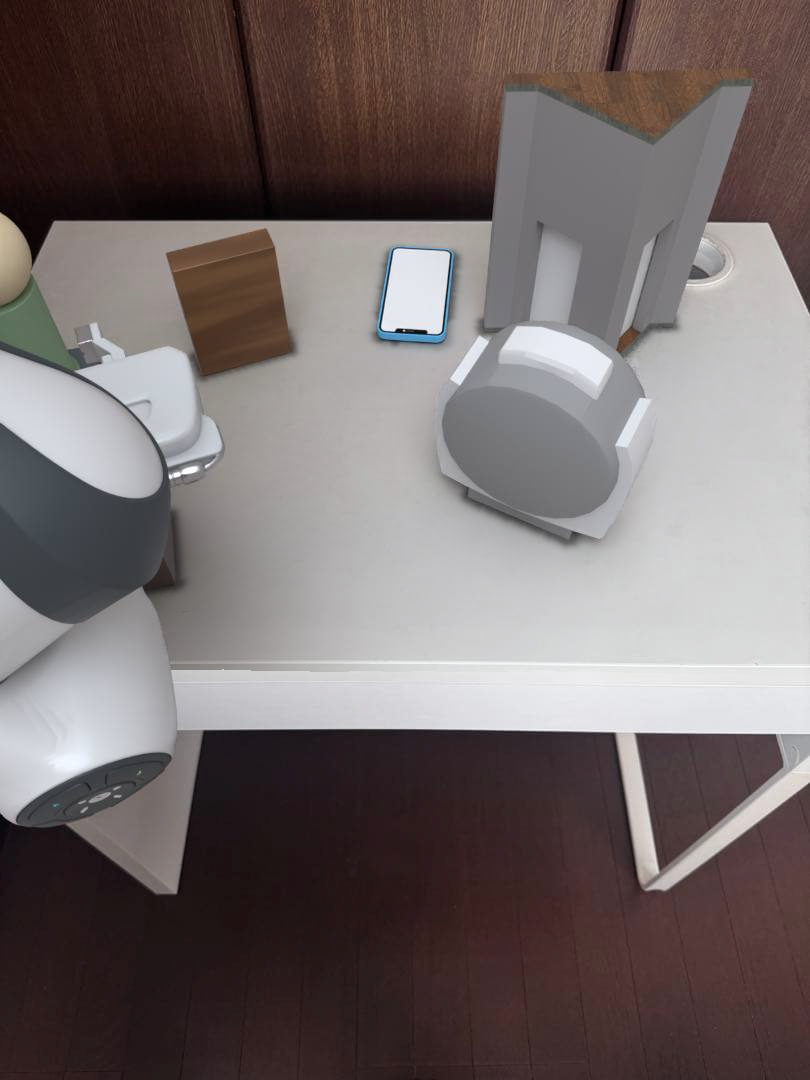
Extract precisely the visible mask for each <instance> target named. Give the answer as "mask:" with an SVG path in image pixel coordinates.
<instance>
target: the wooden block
mask: <svg viewBox="0 0 810 1080" xmlns="http://www.w3.org/2000/svg"><path fill="white" fill-rule="evenodd" d="M165 255H166V259H167V263H168V266H169V270H170V274H171V276H172V281H173V284H174V287H175V290H176V294H177V297H178V300H179V304H180V307H181V311H182V314H183V318H184V321H185V324H186V327H187V328H186V329H187V330H188V331H187V332H188V335H189V338H190V342H191V345H192V349H193V352H194V355H195V358H196V361H197V364H198V368H199V370H200V373H201V376H202V377H205V376H209V375H212V374H216V373H220V372H223V371H227V370H232V369H235V368H238V367H241V366H245V365H250V364H253V363H256V362H260V361H263V360H267V359H270V358H274V357H278V356H281V355H285V354H288V353H292V351H293V349H292V343H291V337H290V331H289V325H288V319H287V318H288V317H287V313H286V306H285V299H284V293H283V288H282V282H281V281H282V280H281V274H280V270H279V264H278V257H277V251H276V246H275V243H274V241H273V239H272V237H271V234H270V233H269V231H268V229H267V227H264V228H260V229H256V230H252V231H248V232H245V233H240V234H236V235H233V236H229V237H228V236H227V237H224V238H220V239H215V240H213V241H208V242H204V243H200V244H196V245H192V246H187V247H184V248H179V249H175V250H172V251H167V252H166V253H165Z"/></svg>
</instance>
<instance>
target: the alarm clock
mask: <svg viewBox="0 0 810 1080" xmlns="http://www.w3.org/2000/svg"><path fill="white" fill-rule="evenodd" d="M434 425H435V426H434V429H435V440H436V449H437V450H436V451H437V455H438V460H439V466H440V470H441V474H443V475H445V476H447V477H449V478H451V479H452V480H453V481H456V482H458V483H459V484H461V485H463V486H464V487H467V488H468V495H467V497H468V499H471V500H473V501H476V502H478V503H481V504H484V505H485V506H487V507H490V508H493V509H494V510H497V511H500V512H501V513H504V514H507V515H509V516H511V517H513V518H516V519H519V520H521V521H523V522H526V523H528V524H531V525H532V526H535V527H537V528H540V529H542V530H544V531H546V532H550V533H551V534H554V535H556V536H559V537H560V538H563V539H566V540H570V539H571V537H572V535H573V533H574V532H576V533H579V534H582V535H585V536H589V537H591V538H595V539H599V540H602V538H603V537H604V536H605V535H606V534H607V532H608V531H609V529H610V528H611V526H612V525H613V524H614V523H615V521H616V519H617V518H618V516H619V513H620V512H621V510H622V508H623V506H624V504H625V502H626V500H627V498H628V496H629V494H630V492H631V491H632V488H633V486H634V484H635V482H636V479H637V478H638V476H639V474H640V472H641V470H642V467H643V466H644V464H645V462H646V460H647V457H648V455H649V452H650V450H651V447H652V446H653V443H654V439H655V434H656V426H657V416H656V411H655V407H654V402H653V398H646V393H645V389H644V387H643V385H642V383H641V382H640V380H639V378H638V376H637V374H636V372H635V370H634V368H633V367H632V366H631V365H630V364H629V363H628V361H627V360H626V359H625V358H624V357H623V356H622V355H620V354H619V353H618V352H617V351H616V350H615V349H613V348H612V347H611V346H609V345H608V344H607V343H605V342H604V341H603V340H601V339H600V338H598V337H597V336H595V335H593V334H590V333H588V332H586V331H584V330H582V329H580V328H578V327H575V326H571V325H567V324H563V323H559V322H555V321H525V322H521V323H517V324H513V325H509V326H507V327H506V328H504V329H502V330H501V331H499V332H495V333H494V334H493V335H492V337H490V339H489V340H487V339H486V338H484V337H482V336H481V335H478V336H477V338H476V339H475V341H473V343H472V344H471V346H470V347H469V348H468V349H467V351H466V353H465V354H464V355H463V357H462V358H461V359H460V361H459V362H458V364H457V365H456V367H455V368H454V370H453V372H452V373H451V375H450V376H449V377H448V379H447V380H446V381H445V383H444V385H443V386H442V387H441V389H440V390H439V391H438V396H437V400H436V403H435V409H434Z"/></svg>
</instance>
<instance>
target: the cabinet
mask: <svg viewBox="0 0 810 1080" xmlns="http://www.w3.org/2000/svg"><path fill="white" fill-rule="evenodd" d="M755 80H756V77H755V75H754V73H753V71H752V68H751V67H741V68H740V67H739V68H738V67H737V68H699V69H697V68H695V69H694V68H693V69H655V70H653V69H652V70H651V69H650V70H617V71H616V70H614V71H613V70H611V71H571V72H570V71H568V72H567V71H566V72H529V73H527V72H526V73H505V74H504V85H503V96H502V107H501V117H500V130H499V140H498V150H497V151H498V152H497V163H496V174H495V185H494V196H493V206H492V207H493V208H492V217H491V227H490V228H491V229H490V241H489V250H488V251H489V252H488V262H487V274H486V286H485V295H484V305H483V306H484V307H483V318H482V326H483V333H498V332H499V331H501V330H502V329H504V328H506V327H507V326H509V325H513V324H517V323H521V322H525V321H555V322H559V323H563V324H567V325H571V326H575V327H578V328H580V329H582V330H584V331H586V332H588V333H590V334H593V335H595V336H597V337H598V338H600V339H601V340H603V341H604V342H605V343H607V344H608V345H609V346H611V347H612V348H613V349H615V350H616V351H617V352H618V353H619V354H620V355H621V356H622V355H624V354H625V352H626V351H628V349H630V347H631V346H632V345H633V344H634V343H635V342H637V340H638V339H640V337H641V336H642V335H643V334H644V333H645V332H646V331H647V330H648V329H655V328H656V329H658V328H659V329H661V328H673V325H674V322H675V321H676V320H675V319H676V317H677V313H678V310H679V307H680V304H681V302H682V299H683V297H684V296H683V295H684V293H685V290H686V287H687V283H688V280H689V278H690V274H691V272H692V268H693V266H694V263H695V259H696V256H697V254H698V251H699V247H700V245H701V241H702V238H703V236H704V233H705V229H706V226H707V224H708V220H709V217H710V214H711V212H712V208H713V206H714V203H715V199H716V198H717V197H716V196H717V193H718V191H719V188H720V185H721V182H722V179H723V176H724V173H725V170H726V167H727V163H728V160H729V158H730V154H731V152H732V149H733V146H734V143H735V140H736V137H737V134H738V130H739V128H740V125H741V122H742V119H743V116H744V113H745V110H746V107H747V103H748V101H749V98H750V95H751V92H752V90H753V89H752V88H753V86H754V82H755Z"/></svg>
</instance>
